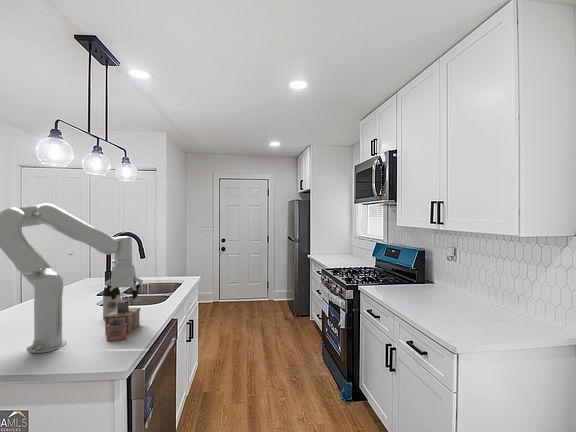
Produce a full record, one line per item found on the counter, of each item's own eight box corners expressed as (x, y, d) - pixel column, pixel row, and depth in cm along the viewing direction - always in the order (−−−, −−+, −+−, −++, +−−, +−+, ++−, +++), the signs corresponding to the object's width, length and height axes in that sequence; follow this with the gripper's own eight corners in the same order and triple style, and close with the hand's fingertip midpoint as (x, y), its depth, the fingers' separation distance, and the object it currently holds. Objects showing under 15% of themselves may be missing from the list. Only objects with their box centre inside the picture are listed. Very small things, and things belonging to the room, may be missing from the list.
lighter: (105, 344, 145) (105, 320, 145) (107, 341, 148) (107, 318, 148) (125, 342, 147) (125, 319, 147) (127, 339, 150) (127, 316, 150)
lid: (128, 318, 154) (128, 305, 154) (104, 318, 154) (104, 305, 154) (140, 310, 168) (140, 297, 167) (118, 310, 167) (118, 297, 167)
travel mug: (105, 318, 181) (105, 284, 181) (121, 317, 183) (121, 283, 183) (101, 322, 173) (101, 287, 173) (118, 321, 175) (118, 286, 175)
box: (127, 336, 154) (127, 318, 154) (105, 336, 154) (105, 318, 154) (139, 326, 167) (139, 310, 167) (118, 326, 167) (118, 310, 167)
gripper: (100, 264, 157) (101, 301, 157) (138, 263, 157) (139, 300, 157) (108, 261, 164) (109, 296, 164) (145, 260, 165) (146, 296, 165)
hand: (124, 298), depth 161 cm, fingers open, 9 cm apart
